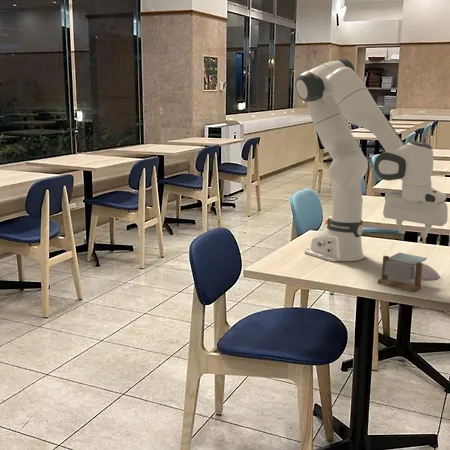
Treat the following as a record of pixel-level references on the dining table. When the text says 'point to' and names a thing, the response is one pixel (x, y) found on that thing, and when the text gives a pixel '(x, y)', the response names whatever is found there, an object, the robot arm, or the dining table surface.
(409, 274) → the trapdoor
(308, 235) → the dining table surface
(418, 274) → the frame
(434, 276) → the seashell
